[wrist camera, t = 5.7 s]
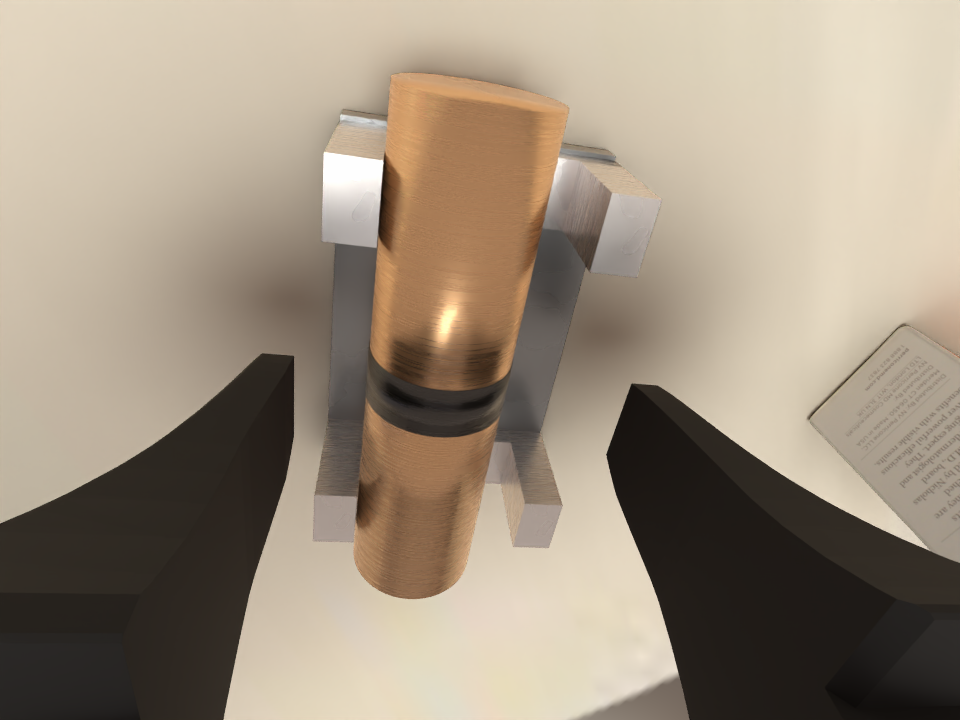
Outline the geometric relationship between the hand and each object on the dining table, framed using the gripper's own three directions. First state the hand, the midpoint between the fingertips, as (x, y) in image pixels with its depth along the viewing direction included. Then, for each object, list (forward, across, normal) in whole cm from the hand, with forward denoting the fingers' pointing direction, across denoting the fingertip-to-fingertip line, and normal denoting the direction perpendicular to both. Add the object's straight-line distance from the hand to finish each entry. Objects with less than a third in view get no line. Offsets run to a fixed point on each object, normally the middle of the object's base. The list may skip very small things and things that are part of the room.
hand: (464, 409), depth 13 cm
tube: (+3, 0, 0) cm, 3 cm away
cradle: (+4, 0, 0) cm, 4 cm away
